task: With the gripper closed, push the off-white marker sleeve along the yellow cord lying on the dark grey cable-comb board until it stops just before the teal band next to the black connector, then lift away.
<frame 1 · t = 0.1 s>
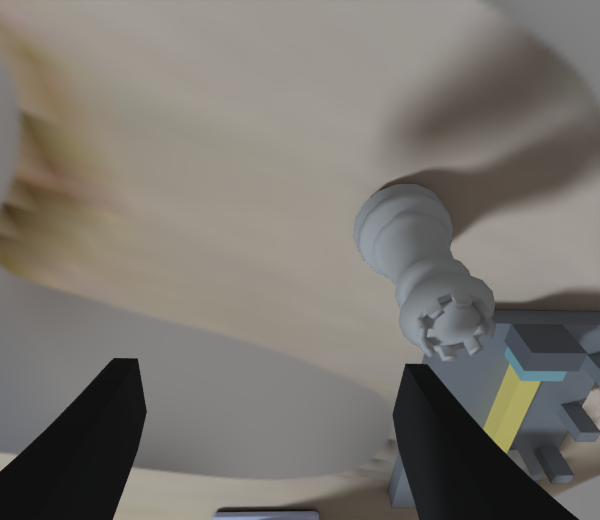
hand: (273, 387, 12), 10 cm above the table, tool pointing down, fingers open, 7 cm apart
rook chess piece: (396, 221, 21), on the table
sleeve: (490, 496, 27), point 3 cm above the table, slide at 0.0 cm
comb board: (484, 414, 28), on the table
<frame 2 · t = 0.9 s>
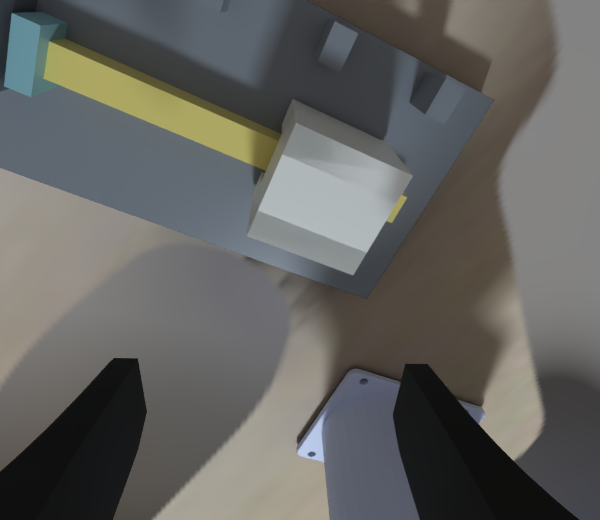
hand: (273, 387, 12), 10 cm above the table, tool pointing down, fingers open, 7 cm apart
sleeve: (322, 185, 15), point 3 cm above the table, slide at 0.0 cm
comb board: (237, 123, 17), on the table
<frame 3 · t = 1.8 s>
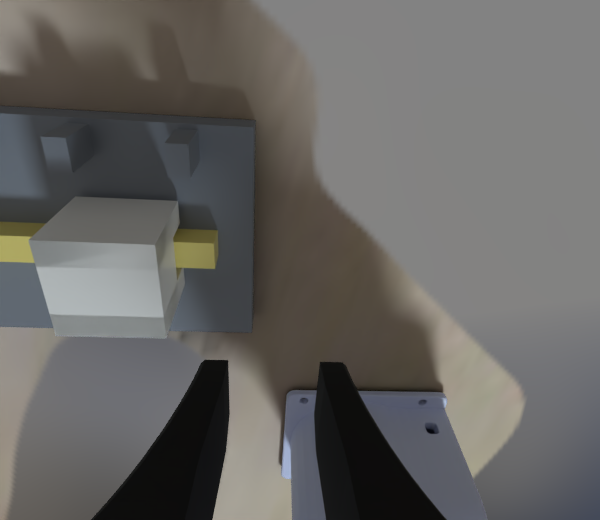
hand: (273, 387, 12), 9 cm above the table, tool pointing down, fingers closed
sleeve: (119, 265, 17), point 3 cm above the table, slide at 0.0 cm
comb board: (63, 223, 19), on the table
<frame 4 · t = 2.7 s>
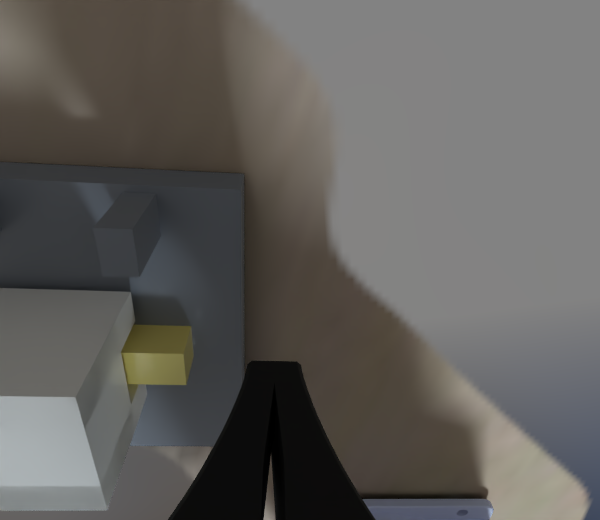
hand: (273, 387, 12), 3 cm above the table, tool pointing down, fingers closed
sleeve: (40, 394, 11), point 3 cm above the table, slide at 0.0 cm
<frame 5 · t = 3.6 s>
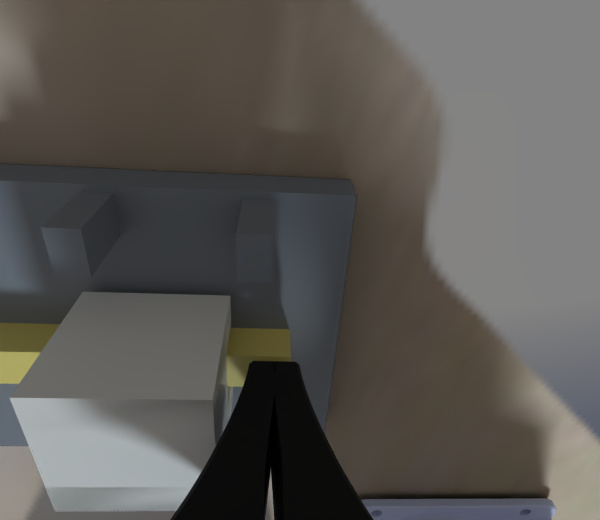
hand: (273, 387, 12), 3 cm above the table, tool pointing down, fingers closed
sleeve: (148, 396, 11), point 3 cm above the table, slide at 0.2 cm, touching gripper
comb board: (73, 314, 14), on the table
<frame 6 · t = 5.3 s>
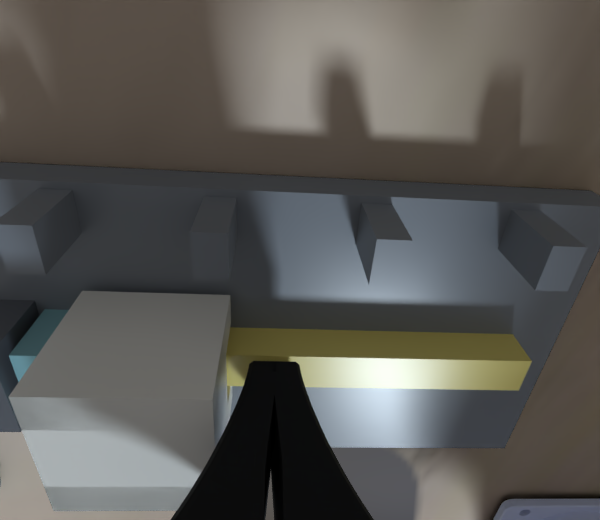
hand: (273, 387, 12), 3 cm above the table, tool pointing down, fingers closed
sleeve: (147, 396, 11), point 3 cm above the table, slide at 7.3 cm, touching gripper
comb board: (289, 319, 14), on the table
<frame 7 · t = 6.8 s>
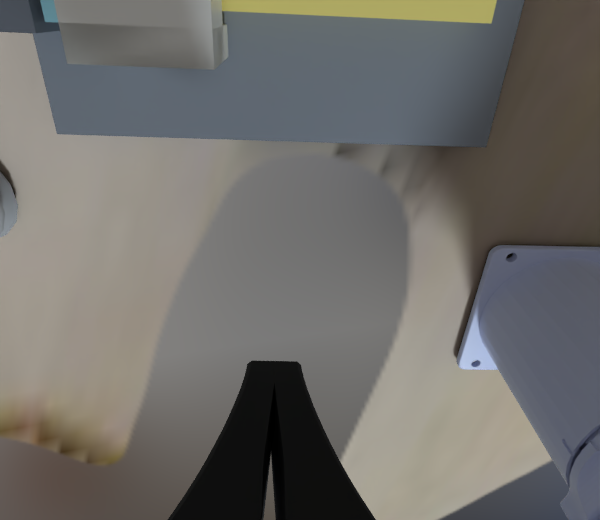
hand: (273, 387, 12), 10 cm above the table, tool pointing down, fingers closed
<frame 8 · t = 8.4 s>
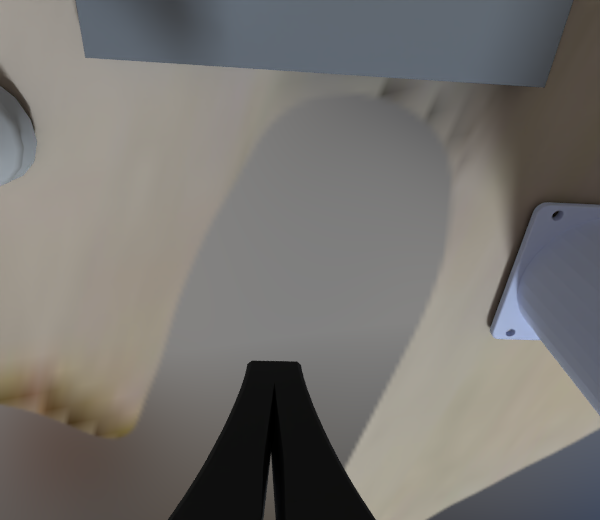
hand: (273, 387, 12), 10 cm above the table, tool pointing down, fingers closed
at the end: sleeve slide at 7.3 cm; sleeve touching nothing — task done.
